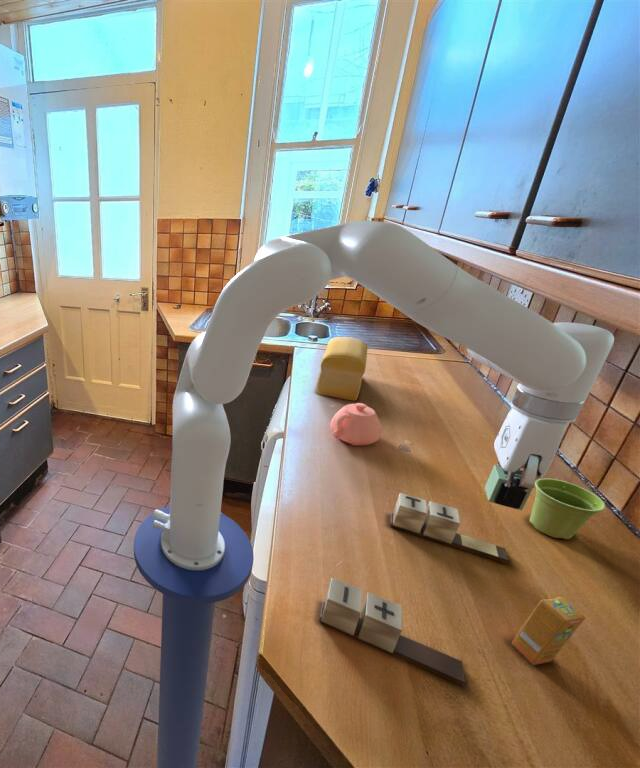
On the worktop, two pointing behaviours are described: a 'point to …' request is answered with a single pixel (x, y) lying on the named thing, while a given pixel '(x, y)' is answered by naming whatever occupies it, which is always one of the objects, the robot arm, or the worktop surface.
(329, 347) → the bread
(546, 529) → the plant pot
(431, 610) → the worktop surface
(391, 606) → the front word
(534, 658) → the supplement box
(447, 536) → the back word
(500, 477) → the pale green cube
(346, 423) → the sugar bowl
